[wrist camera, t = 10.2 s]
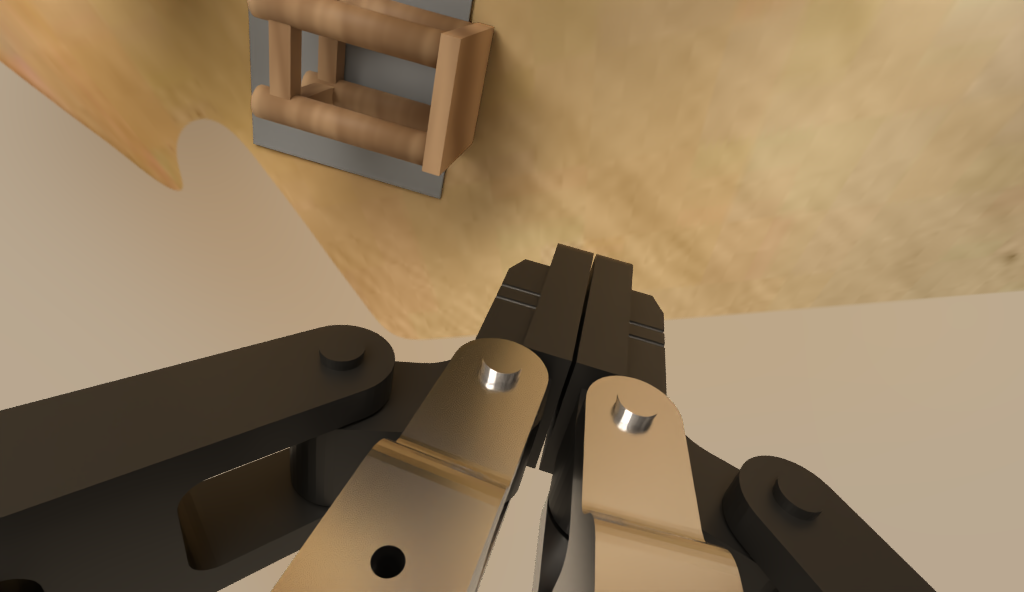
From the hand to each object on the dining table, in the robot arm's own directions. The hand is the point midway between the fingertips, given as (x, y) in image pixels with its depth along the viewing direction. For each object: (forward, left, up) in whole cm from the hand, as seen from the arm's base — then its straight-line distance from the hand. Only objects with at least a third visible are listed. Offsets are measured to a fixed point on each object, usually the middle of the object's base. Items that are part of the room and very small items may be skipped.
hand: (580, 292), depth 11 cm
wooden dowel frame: (+8, +2, -22) cm, 23 cm away
